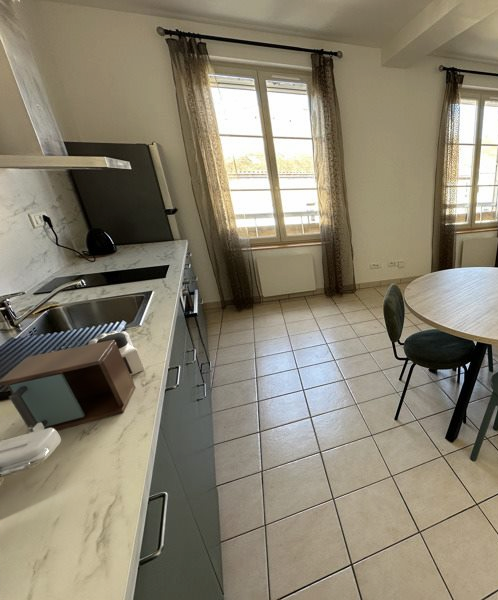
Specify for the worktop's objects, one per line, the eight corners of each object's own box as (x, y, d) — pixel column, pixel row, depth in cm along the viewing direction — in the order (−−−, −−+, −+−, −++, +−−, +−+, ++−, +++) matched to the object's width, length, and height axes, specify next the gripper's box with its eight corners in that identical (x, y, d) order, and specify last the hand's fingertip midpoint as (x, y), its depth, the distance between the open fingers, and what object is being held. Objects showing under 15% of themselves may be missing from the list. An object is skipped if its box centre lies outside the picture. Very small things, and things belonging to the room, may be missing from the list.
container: (145, 369, 104) (130, 333, 98) (116, 382, 98) (98, 345, 93) (135, 363, 107) (120, 327, 102) (106, 375, 102) (88, 338, 96)
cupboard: (32, 437, 78) (-3, 382, 72) (55, 407, 88) (26, 357, 82) (123, 412, 85) (98, 360, 79) (135, 387, 95) (114, 339, 89)
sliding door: (26, 441, 75) (-3, 396, 70) (38, 427, 79) (11, 383, 74) (76, 428, 78) (51, 383, 73) (85, 414, 83) (61, 372, 78)
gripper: (31, 451, 59) (65, 405, 71) (-138, 499, 52) (-69, 439, 64) (47, 476, 62) (78, 427, 74) (-112, 525, 54) (-50, 463, 66)
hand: (9, 433), depth 69 cm, fingers open, 8 cm apart
